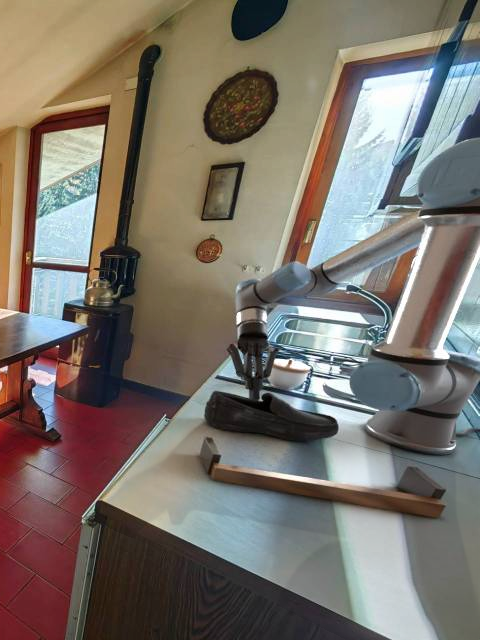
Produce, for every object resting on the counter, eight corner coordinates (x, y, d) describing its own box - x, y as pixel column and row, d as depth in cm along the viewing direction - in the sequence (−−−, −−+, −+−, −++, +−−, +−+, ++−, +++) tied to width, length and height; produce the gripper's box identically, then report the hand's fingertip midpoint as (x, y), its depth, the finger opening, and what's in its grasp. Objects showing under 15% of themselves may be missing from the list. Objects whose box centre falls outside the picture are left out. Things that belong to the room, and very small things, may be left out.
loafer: (342, 448, 93) (359, 410, 89) (210, 434, 98) (221, 398, 94) (316, 427, 102) (331, 392, 99) (197, 416, 108) (206, 382, 104)
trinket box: (254, 380, 133) (262, 354, 129) (282, 379, 134) (291, 353, 130) (280, 393, 123) (290, 365, 119) (311, 392, 124) (321, 364, 121)
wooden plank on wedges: (405, 487, 79) (416, 467, 78) (441, 518, 71) (455, 496, 69) (199, 455, 90) (204, 436, 88) (209, 479, 81) (215, 459, 79)
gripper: (270, 335, 118) (274, 408, 110) (222, 331, 122) (222, 401, 113) (283, 322, 111) (289, 398, 103) (231, 318, 115) (233, 392, 107)
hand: (254, 400), depth 108 cm, fingers closed
